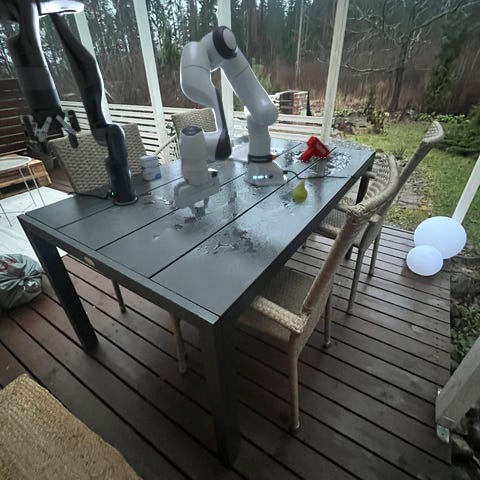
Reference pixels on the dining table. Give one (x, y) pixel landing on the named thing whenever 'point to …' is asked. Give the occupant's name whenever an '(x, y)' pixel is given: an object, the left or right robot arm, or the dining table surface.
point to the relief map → (242, 152)
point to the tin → (200, 209)
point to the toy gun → (315, 149)
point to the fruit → (300, 192)
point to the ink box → (150, 167)
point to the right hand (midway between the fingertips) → (199, 210)
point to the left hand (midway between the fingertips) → (61, 151)
